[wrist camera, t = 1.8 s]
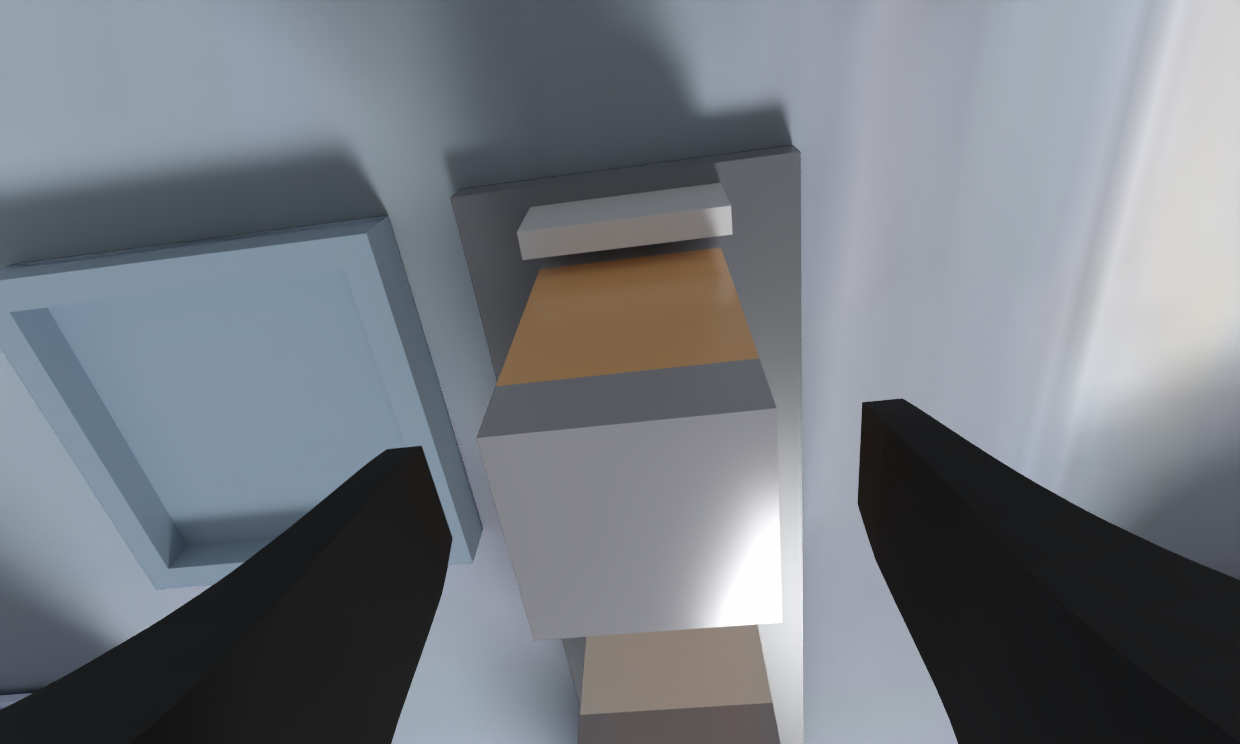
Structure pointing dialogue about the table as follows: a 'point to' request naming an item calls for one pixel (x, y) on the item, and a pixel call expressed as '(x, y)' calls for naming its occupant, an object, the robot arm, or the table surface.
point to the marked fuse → (636, 448)
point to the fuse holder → (761, 273)
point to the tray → (231, 385)
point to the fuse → (677, 688)
